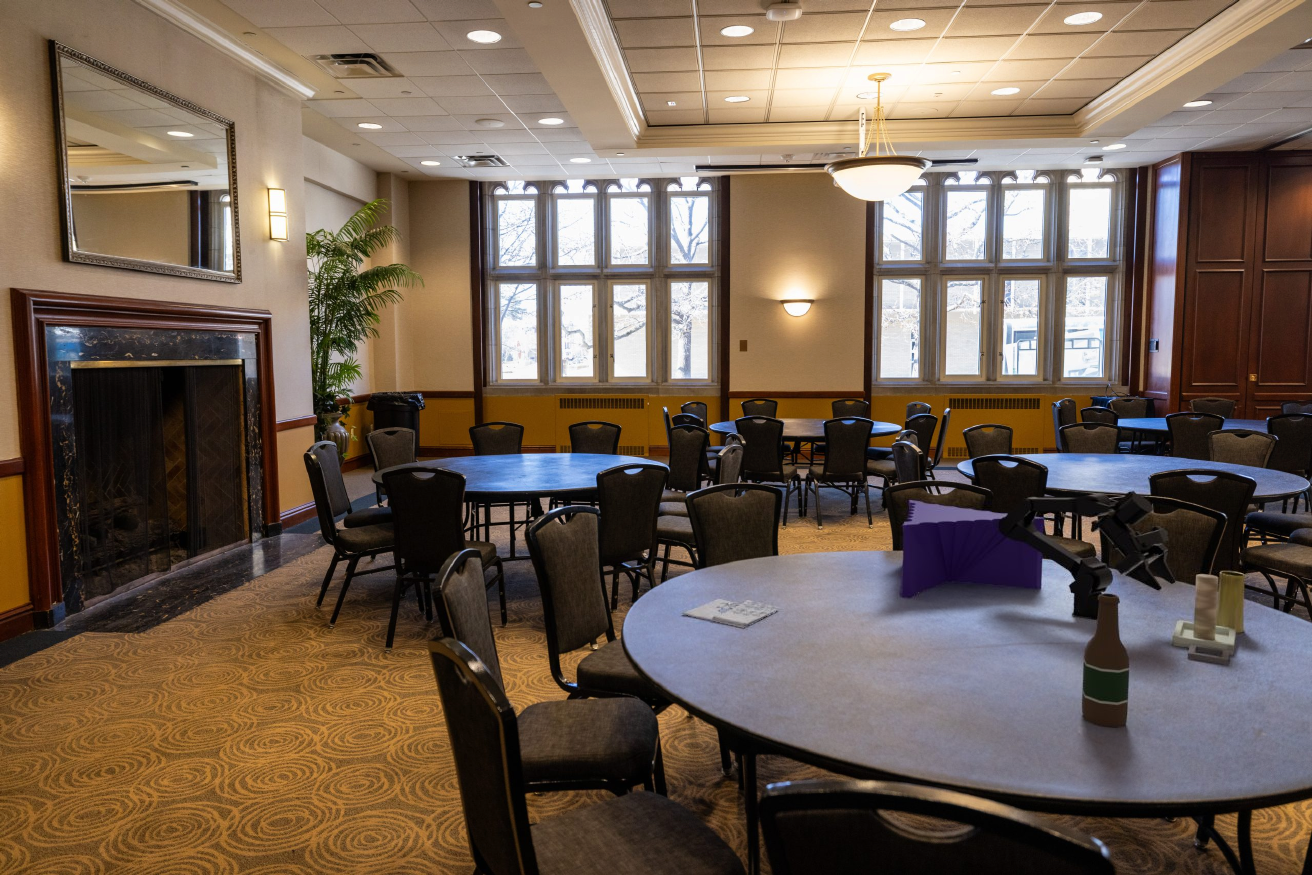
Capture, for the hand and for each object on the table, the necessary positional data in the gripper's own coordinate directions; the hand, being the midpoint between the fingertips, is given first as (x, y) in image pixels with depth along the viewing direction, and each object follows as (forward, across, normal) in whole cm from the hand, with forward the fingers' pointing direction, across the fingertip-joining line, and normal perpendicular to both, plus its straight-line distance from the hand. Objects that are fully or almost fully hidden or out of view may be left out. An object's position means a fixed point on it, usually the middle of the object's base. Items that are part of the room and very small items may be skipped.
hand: (1167, 586), depth 209 cm
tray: (+14, 0, +2) cm, 15 cm away
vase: (+15, +15, +2) cm, 21 cm away
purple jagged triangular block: (-35, -1, +52) cm, 63 cm away
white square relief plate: (-50, -67, +68) cm, 108 cm away
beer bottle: (+16, -64, +1) cm, 66 cm away
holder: (+17, -11, -1) cm, 21 cm away
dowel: (+14, 0, +2) cm, 14 cm away
